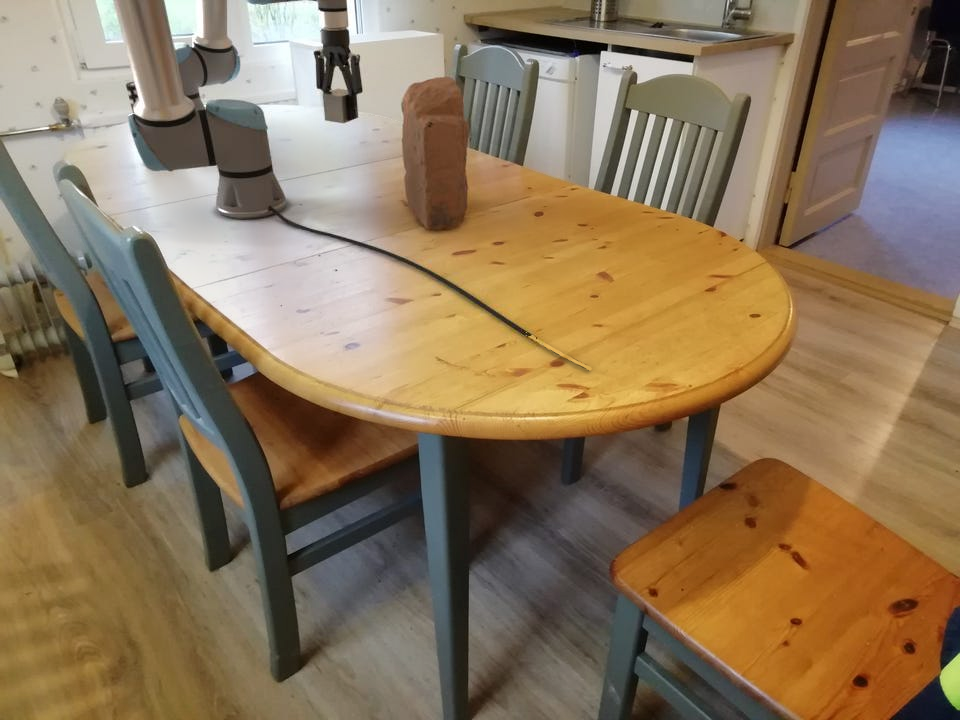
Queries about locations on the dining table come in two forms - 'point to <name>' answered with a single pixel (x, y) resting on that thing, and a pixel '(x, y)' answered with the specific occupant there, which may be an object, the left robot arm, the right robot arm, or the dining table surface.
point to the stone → (435, 152)
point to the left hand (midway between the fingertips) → (341, 117)
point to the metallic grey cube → (336, 106)
